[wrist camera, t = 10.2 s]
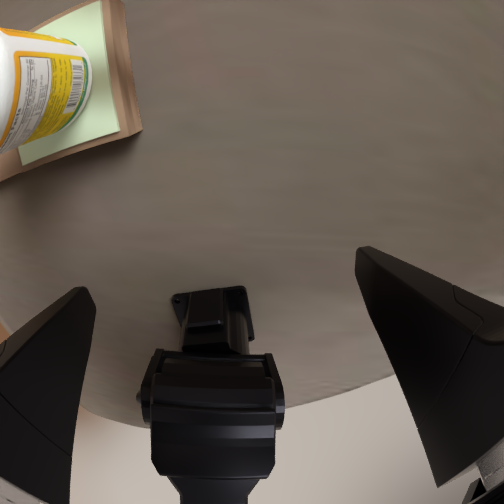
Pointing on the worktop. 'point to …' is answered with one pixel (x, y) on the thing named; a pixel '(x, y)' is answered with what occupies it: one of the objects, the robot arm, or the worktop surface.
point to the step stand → (102, 89)
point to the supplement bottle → (39, 85)
